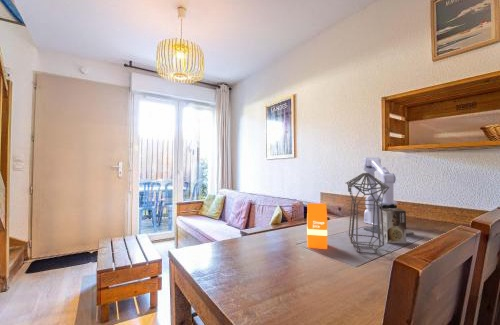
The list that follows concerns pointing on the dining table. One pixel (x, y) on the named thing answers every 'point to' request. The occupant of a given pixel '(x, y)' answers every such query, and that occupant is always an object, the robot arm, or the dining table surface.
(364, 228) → the stand base
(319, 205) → the orange juice
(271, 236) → the dining table surface
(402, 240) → the coffee box
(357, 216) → the geometric lantern
